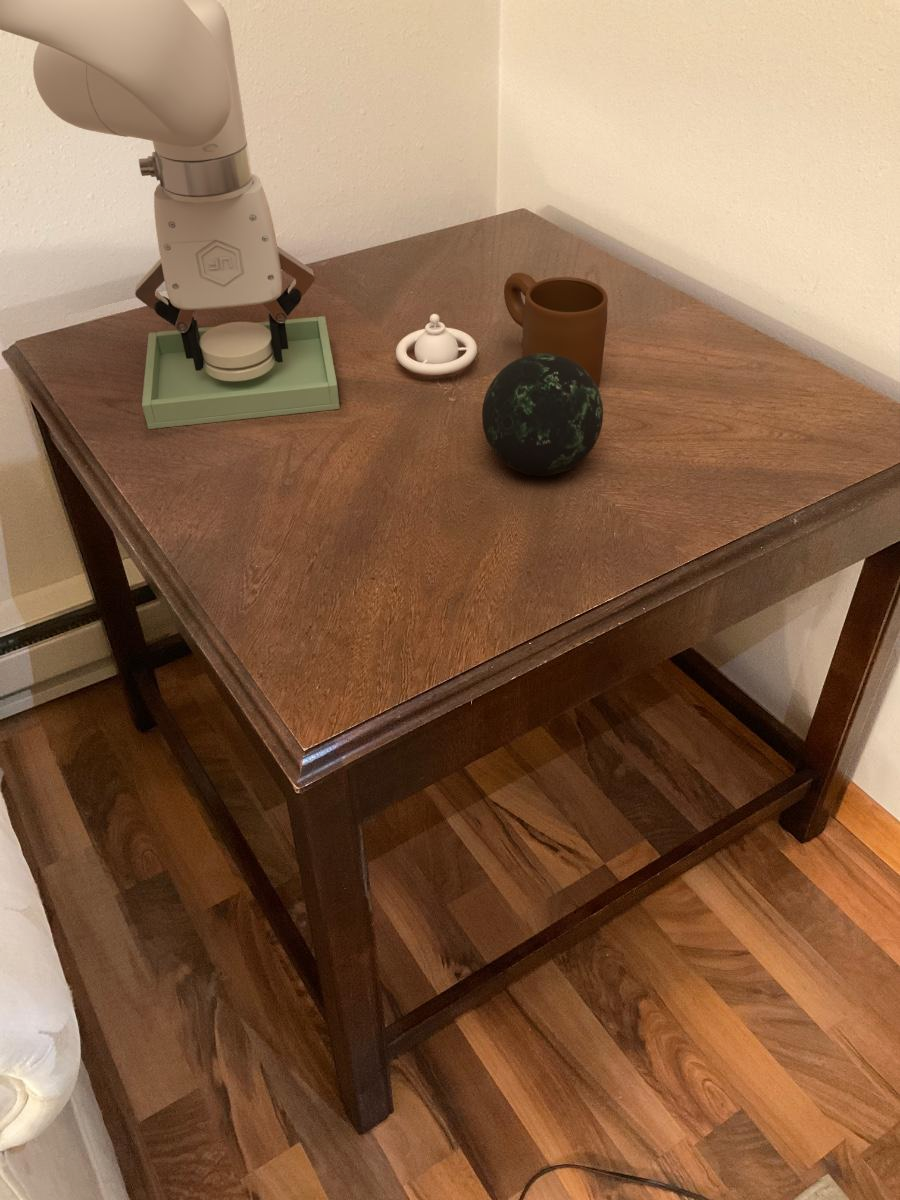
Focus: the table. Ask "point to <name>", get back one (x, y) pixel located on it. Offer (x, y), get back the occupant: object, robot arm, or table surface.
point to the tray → (203, 399)
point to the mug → (560, 318)
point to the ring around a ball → (436, 349)
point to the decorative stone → (542, 414)
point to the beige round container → (237, 351)
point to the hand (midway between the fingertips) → (239, 358)
